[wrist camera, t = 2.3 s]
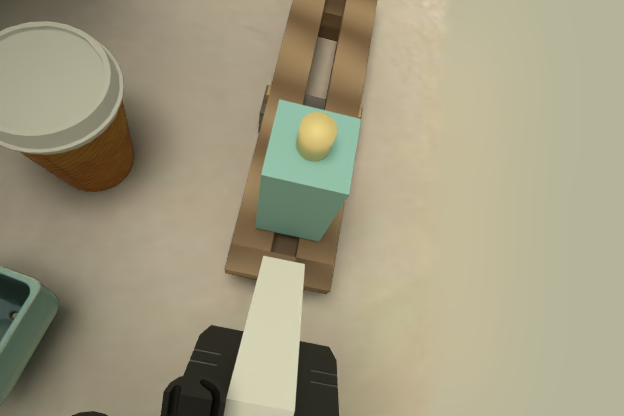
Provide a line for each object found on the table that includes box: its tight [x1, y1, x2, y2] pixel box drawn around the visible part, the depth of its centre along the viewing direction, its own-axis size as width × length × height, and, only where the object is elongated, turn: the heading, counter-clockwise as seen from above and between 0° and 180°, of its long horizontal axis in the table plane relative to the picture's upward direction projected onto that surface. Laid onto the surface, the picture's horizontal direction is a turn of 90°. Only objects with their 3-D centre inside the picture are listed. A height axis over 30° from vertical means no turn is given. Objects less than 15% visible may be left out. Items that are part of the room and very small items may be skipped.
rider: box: [255, 99, 361, 242], centre depth 30 cm, size 5×5×13 cm
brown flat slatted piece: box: [225, 0, 377, 294], centre depth 41 cm, size 32×9×5 cm, turn 170°
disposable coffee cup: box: [0, 21, 134, 192], centre depth 33 cm, size 10×10×12 cm
